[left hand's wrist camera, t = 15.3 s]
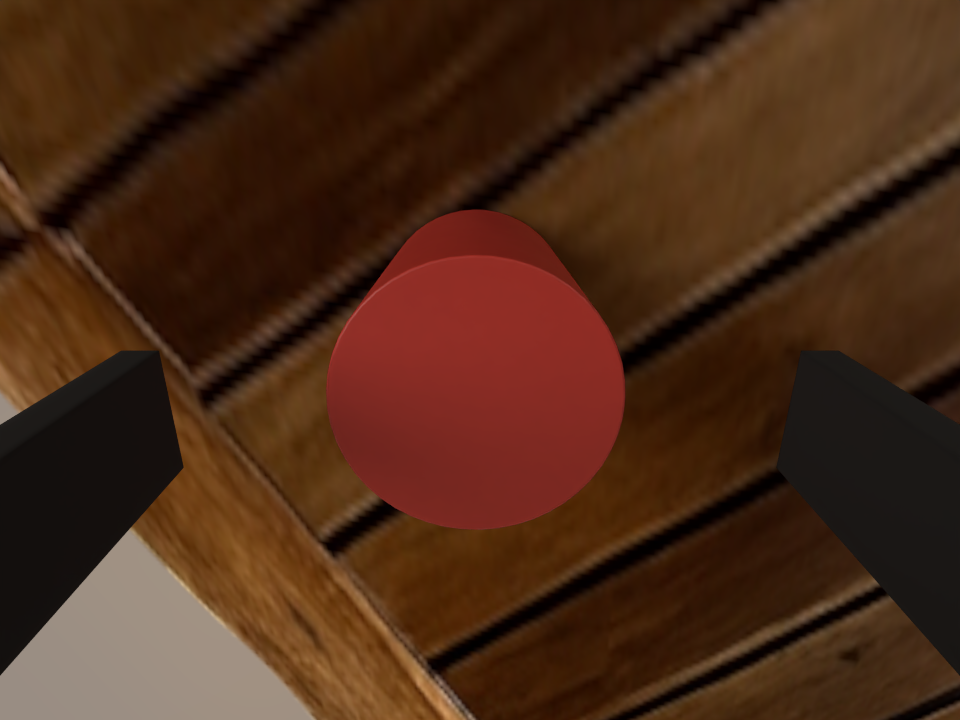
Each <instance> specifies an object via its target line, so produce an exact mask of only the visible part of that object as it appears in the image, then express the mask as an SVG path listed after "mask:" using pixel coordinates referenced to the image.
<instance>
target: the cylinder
mask: <svg viewBox="0 0 960 720" xmlns="http://www.w3.org/2000/svg"><path fill="white" fill-rule="evenodd" d="M326 396H327V409H328V414H329V419H330V424H331V428H332V430H333V433H334V436H335V439H336V442H337V444H338V446H339V448H340V450H341V452H342V454H343V456H344V458H345V459H346V461H347V462H348V464H349V465H350V467H351V468H352V469H353V471H354V472H355V474H356V475H357V476H358V477H359V478H360V479H361V480H362V481H363V483H364V484H365V485H366V486H367V487H368V488H369V489H371V490H372V491H373V492H374V493H375V494H376V495H378V496H379V497H380V498H381V499H383V500H384V501H386V502H387V503H389V504H390V505H392V506H393V507H395V508H396V509H398V510H400V511H402V512H404V513H406V514H408V515H410V516H412V517H415V518H418V519H420V520H423V521H426V522H429V523H433V524H437V525H441V526H444V527H451V528H459V529H480V530H481V529H493V528H501V527H506V526H511V525H516V524H519V523H522V522H526V521H529V520H532V519H534V518H537V517H539V516H541V515H543V514H546V513H548V512H550V511H552V510H553V509H555V508H557V507H558V506H560V505H562V504H563V503H565V502H566V501H567V500H569V499H570V498H571V497H573V496H574V495H575V494H577V493H578V492H579V491H580V490H581V489H582V488H583V487H584V486H585V485H586V484H587V483H588V482H589V481H590V480H591V479H592V478H593V477H594V475H595V474H596V473H597V472H598V470H599V469H600V468H601V467H602V465H603V463H604V462H605V460H606V458H607V457H608V455H609V453H610V452H611V450H612V447H613V445H614V443H615V440H616V438H617V436H618V433H619V430H620V426H621V422H622V419H623V413H624V405H625V377H624V371H623V364H622V361H621V357H620V354H619V351H618V348H617V345H616V343H615V341H614V338H613V336H612V334H611V332H610V330H609V328H608V327H607V325H606V324H605V322H604V321H603V319H602V317H601V316H600V314H599V313H598V312H597V310H596V309H595V307H594V306H593V305H592V303H591V302H590V301H589V299H588V298H587V297H586V295H585V294H584V292H583V291H582V290H581V288H580V287H579V286H578V284H577V283H576V282H575V280H574V279H573V278H572V276H571V275H570V273H569V272H568V271H567V269H566V268H565V267H564V265H563V264H562V263H561V261H560V260H559V258H558V257H557V256H556V254H555V253H554V252H553V250H552V249H551V248H550V246H549V245H548V244H547V243H546V241H545V240H544V239H543V238H542V237H541V236H540V235H539V234H538V233H537V232H535V231H534V230H533V229H532V228H531V227H529V226H528V225H526V224H524V223H523V222H521V221H519V220H517V219H515V218H513V217H511V216H508V215H505V214H502V213H499V212H494V211H488V210H465V211H458V212H454V213H450V214H447V215H444V216H441V217H439V218H436V219H435V220H433V221H431V222H429V223H427V224H426V225H424V226H423V227H422V228H420V229H419V230H418V231H416V232H415V233H414V234H413V235H412V236H411V237H410V238H409V239H408V240H407V241H406V243H405V244H404V245H403V247H402V248H401V249H400V250H399V252H398V253H397V255H396V256H395V257H394V259H393V260H392V261H391V263H390V264H389V265H388V267H387V268H386V269H385V271H384V272H383V273H382V275H381V276H380V278H379V279H378V280H377V282H376V283H375V284H374V286H373V287H372V288H371V290H370V291H369V292H368V294H367V295H366V297H365V298H364V299H363V301H362V302H361V303H360V305H359V306H358V307H357V309H356V310H355V311H354V313H353V314H352V315H351V317H350V318H349V320H348V321H347V323H346V325H345V326H344V328H343V330H342V332H341V333H340V335H339V337H338V340H337V342H336V345H335V347H334V350H333V353H332V356H331V360H330V364H329V369H328V375H327V386H326Z"/></svg>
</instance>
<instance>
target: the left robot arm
mask: <svg viewBox="0 0 960 720" xmlns="http://www.w3.org/2000/svg"><path fill="white" fill-rule="evenodd" d="M183 468H184V467H183V462H182V458H181V453H180V448H179V444H178V439H177V434H176V429H175V425H174V420H173V415H172V411H171V406H170V401H169V396H168V392H167V387H166V382H165V378H164V373H163V368H162V364H161V359H160V354H159V351H120V352H118V353H117V354H115V355H114V356H112V357H110V358H109V359H107V360H105V361H104V362H102V363H100V364H99V365H97V366H96V367H94V368H92V369H91V370H89V371H87V372H86V373H84V374H83V375H81V376H79V377H78V378H76V379H74V380H73V381H71V382H69V383H68V384H66V385H65V386H63V387H61V388H60V389H58V390H56V391H55V392H53V393H51V394H50V395H48V396H47V397H45V398H43V399H42V400H40V401H38V402H37V403H35V404H33V405H32V406H30V407H29V408H27V409H25V410H24V411H22V412H20V413H19V414H17V415H15V416H14V417H12V418H11V419H9V420H7V421H6V422H4V423H3V424H1V425H0V675H1V674H2V673H3V672H4V671H5V669H6V668H7V667H8V666H9V665H10V664H11V663H12V662H13V660H14V659H15V658H16V657H17V656H18V655H19V654H20V652H21V651H22V650H23V649H24V648H25V647H26V646H27V645H28V643H29V642H30V641H31V640H32V639H33V638H34V637H35V635H36V634H37V633H38V632H39V631H40V630H41V629H42V627H43V626H44V625H45V624H46V623H47V622H48V621H49V619H50V618H51V617H52V616H53V615H54V614H55V613H56V612H57V610H58V609H59V608H60V607H61V606H62V605H63V604H64V603H65V601H66V600H67V599H68V598H69V597H70V596H71V595H72V593H73V592H74V591H75V590H76V589H77V588H78V587H79V585H80V584H81V583H82V582H83V581H84V580H85V579H86V578H87V576H88V575H89V574H90V573H91V572H92V571H93V570H94V568H95V567H96V566H97V565H98V564H99V563H100V562H101V561H102V559H103V558H104V557H105V556H106V555H107V554H108V553H109V551H110V550H111V549H112V548H113V547H114V546H115V545H116V544H117V542H118V541H119V540H120V539H121V538H122V537H123V536H124V535H125V533H126V532H127V531H128V530H129V529H130V528H131V527H132V525H133V524H134V523H135V522H136V521H137V520H138V519H139V517H140V516H141V515H142V514H143V513H144V512H145V511H146V510H147V508H148V507H149V506H150V505H151V504H152V503H153V502H154V500H155V499H156V498H157V497H158V496H159V495H160V494H161V493H162V491H163V490H164V489H165V488H166V487H167V486H168V485H169V483H170V482H171V481H172V480H173V479H174V478H175V477H176V476H177V474H178V473H179V472H180V471H181V470H182V469H183ZM776 468H777V469H778V470H779V471H780V472H781V473H782V474H783V476H784V477H785V478H786V479H787V480H788V481H789V482H790V483H791V485H792V486H793V487H794V488H795V489H796V490H797V491H798V493H799V494H800V495H801V496H802V497H803V498H804V499H805V500H806V502H807V503H808V504H809V505H810V506H811V507H812V508H813V510H814V511H815V512H816V513H817V514H818V515H819V516H820V517H821V519H822V520H823V521H824V522H825V523H826V524H827V525H828V527H829V528H830V529H831V530H832V531H833V532H834V533H835V535H836V536H837V537H838V538H839V539H840V540H841V541H842V542H843V544H844V545H845V546H846V547H847V548H848V549H849V550H850V552H851V553H852V554H853V555H854V556H855V557H856V558H857V559H858V561H859V562H860V563H861V564H862V565H863V566H864V567H865V569H866V570H867V571H868V572H869V573H870V574H871V575H872V576H873V578H874V579H875V580H876V581H877V582H878V583H879V584H880V586H881V587H882V588H883V589H884V590H885V591H886V592H887V593H888V595H889V596H890V597H891V598H892V599H893V600H894V601H895V603H896V604H897V605H898V606H899V607H900V608H901V609H902V610H903V612H904V613H905V614H906V615H907V616H908V617H909V618H910V620H911V621H912V622H913V623H914V624H915V625H916V626H917V628H918V629H919V630H920V631H921V632H922V633H923V634H924V635H925V637H926V638H927V639H928V640H929V641H930V642H931V643H932V645H933V646H934V647H935V648H936V649H937V650H938V651H939V652H940V654H941V655H942V656H943V657H944V658H945V659H946V660H947V662H948V663H949V664H950V665H951V666H952V667H953V668H954V669H955V671H956V672H957V673H958V674H959V675H960V425H959V424H958V423H956V422H954V421H953V420H951V419H949V418H948V417H946V416H945V415H943V414H941V413H940V412H938V411H936V410H935V409H933V408H931V407H930V406H928V405H927V404H925V403H923V402H922V401H920V400H918V399H917V398H915V397H913V396H912V395H910V394H909V393H907V392H905V391H904V390H902V389H900V388H899V387H897V386H895V385H894V384H892V383H891V382H889V381H887V380H886V379H884V378H882V377H881V376H879V375H877V374H876V373H874V372H873V371H871V370H869V369H868V368H866V367H864V366H863V365H861V364H860V363H858V362H856V361H855V360H853V359H851V358H850V357H848V356H846V355H845V354H843V353H842V352H840V351H801V354H800V359H799V364H798V368H797V373H796V378H795V382H794V387H793V392H792V396H791V401H790V406H789V411H788V415H787V420H786V425H785V429H784V434H783V439H782V444H781V448H780V453H779V458H778V462H777V467H776Z"/></svg>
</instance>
